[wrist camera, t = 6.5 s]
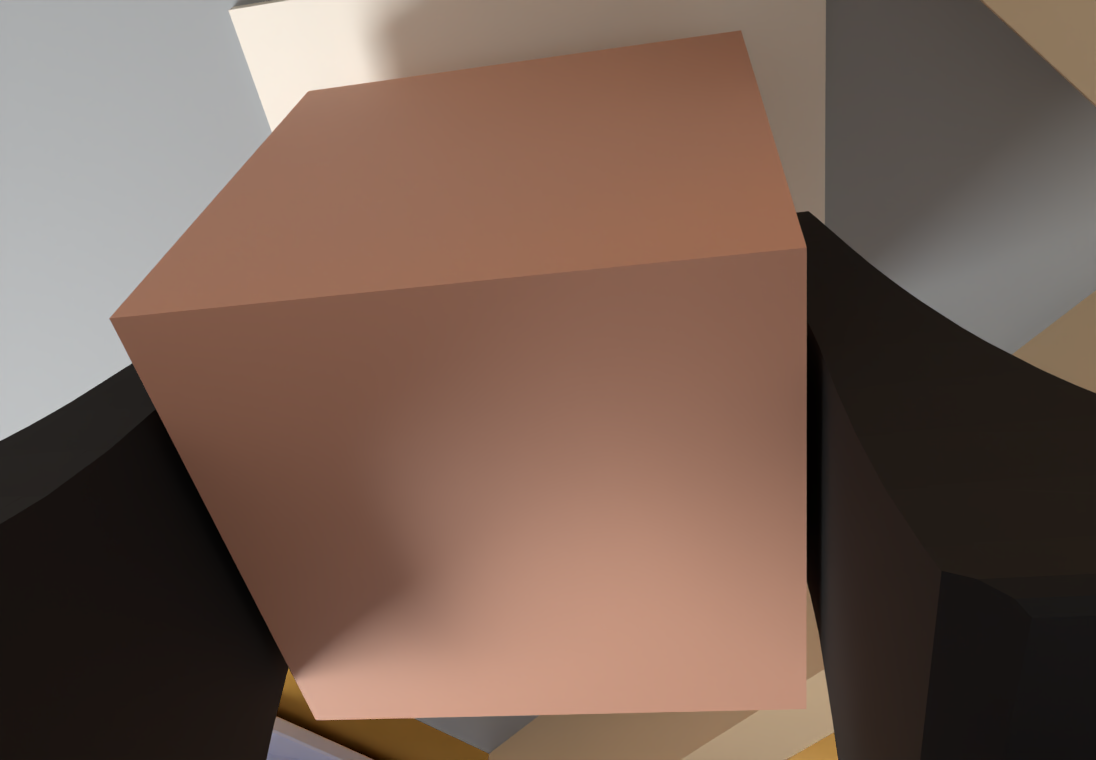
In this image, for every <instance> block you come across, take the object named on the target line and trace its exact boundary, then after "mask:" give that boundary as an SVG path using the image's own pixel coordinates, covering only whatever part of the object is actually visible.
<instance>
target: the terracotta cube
mask: <svg viewBox="0 0 1096 760" xmlns="http://www.w3.org/2000/svg"><path fill="white" fill-rule="evenodd" d="M109 319H110V321H111V323H112V325H113V327H114V329H115V331H116V332H117V334H118V336H119V338H120V340H121V342H122V344H123V346H124V348H125V350H126V352H127V354H128V356H129V358H130V360H131V362H132V364H133V366H134V367H135V369H136V371H137V373H138V375H139V377H140V379H141V381H142V383H143V385H144V387H145V389H146V391H147V393H148V395H149V397H150V399H151V401H152V402H153V404H154V406H155V408H156V410H157V412H158V414H159V416H160V418H161V420H162V422H163V424H164V426H165V428H166V430H167V432H168V434H169V436H170V437H171V439H172V441H173V443H174V445H175V447H176V449H177V451H178V453H179V455H180V457H181V459H182V461H183V463H184V465H185V467H186V469H187V471H188V472H189V474H190V476H191V478H192V480H193V482H194V484H195V486H196V488H197V490H198V492H199V494H200V496H201V498H202V500H203V502H204V504H205V506H206V507H207V509H208V511H209V513H210V515H211V517H212V519H213V521H214V523H215V525H216V527H217V529H218V531H219V533H220V535H221V537H222V539H223V541H224V542H225V544H226V546H227V548H228V550H229V552H230V554H231V556H232V558H233V560H234V562H235V564H236V566H237V568H238V570H239V572H240V574H241V576H242V577H243V579H244V581H245V583H246V585H247V587H248V589H249V591H250V593H251V595H252V597H253V599H254V601H255V603H256V605H257V607H258V609H259V611H260V613H261V614H262V616H263V618H264V620H265V622H266V624H267V626H268V628H269V630H270V632H271V634H272V636H273V638H274V640H275V642H276V644H277V646H278V648H279V649H280V651H281V653H282V655H283V657H284V659H285V661H286V663H287V665H288V667H289V669H290V671H291V673H292V675H293V677H294V679H295V681H296V683H297V684H298V686H299V688H300V690H301V692H302V694H303V696H304V698H305V700H306V702H307V704H308V706H309V708H310V710H311V712H312V714H313V716H314V718H315V719H316V720H349V719H393V718H437V717H481V716H525V715H569V714H613V713H656V712H700V711H744V710H788V709H806V638H807V247H806V243H805V240H804V237H803V233H802V230H801V227H800V224H799V220H798V217H797V214H796V210H795V207H794V204H793V200H792V197H791V194H790V190H789V187H788V184H787V181H786V177H785V174H784V171H783V167H782V164H781V161H780V157H779V154H778V151H777V148H776V144H775V141H774V138H773V134H772V131H771V128H770V124H769V121H768V118H767V115H766V111H765V108H764V105H763V101H762V98H761V95H760V91H759V88H758V85H757V81H756V78H755V75H754V72H753V68H752V65H751V62H750V58H749V55H748V52H747V48H746V45H745V42H744V39H743V35H742V32H741V30H740V31H733V32H726V33H719V34H711V35H704V36H697V37H690V38H683V39H676V40H669V41H662V42H654V43H647V44H640V45H633V46H626V47H619V48H612V49H605V50H597V51H590V52H583V53H576V54H569V55H562V56H555V57H547V58H540V59H533V60H526V61H519V62H512V63H505V64H498V65H490V66H483V67H476V68H469V69H462V70H455V71H448V72H441V73H433V74H426V75H419V76H412V77H405V78H398V79H391V80H384V81H376V82H369V83H362V84H355V85H348V86H341V87H334V88H327V89H319V90H312V91H308V92H307V93H306V94H305V95H304V96H303V98H302V99H301V100H300V101H299V102H298V103H297V104H296V106H295V107H294V108H293V109H292V110H291V111H290V112H289V114H288V115H287V116H286V117H285V118H284V119H283V120H282V122H281V123H280V124H279V125H278V126H277V127H276V128H275V130H274V131H273V132H272V133H271V134H270V135H269V136H268V138H267V139H266V140H265V141H264V142H263V143H262V144H261V146H260V147H259V148H258V149H257V150H256V151H255V152H254V154H253V155H252V156H251V157H250V158H249V159H248V160H247V162H246V163H245V164H244V165H243V166H242V167H241V168H240V170H239V171H238V172H237V173H236V174H235V175H234V176H233V178H232V179H231V180H230V181H229V182H228V183H227V184H226V186H225V187H224V188H223V189H222V190H221V191H220V192H219V194H218V195H217V196H216V197H215V198H214V199H213V200H212V202H211V203H210V204H209V205H208V206H207V207H206V208H205V210H204V211H203V212H202V213H201V214H200V215H199V216H198V218H197V219H196V220H195V221H194V222H193V223H192V224H191V226H190V227H189V228H188V229H187V230H186V231H185V232H184V234H183V235H182V236H181V237H180V238H179V239H178V240H177V242H176V243H175V244H174V245H173V246H172V247H171V248H170V250H169V251H168V252H167V253H166V254H165V255H164V256H163V258H162V259H161V260H160V261H159V262H158V263H157V264H156V266H155V267H154V268H153V269H152V270H151V271H150V272H149V274H148V275H147V276H146V277H145V278H144V279H143V280H142V282H141V283H140V284H139V285H138V286H137V287H136V288H135V290H134V291H133V292H132V293H131V294H130V295H129V296H128V298H127V299H126V300H125V301H124V302H123V303H122V304H121V306H120V307H119V308H118V309H117V310H116V311H115V312H114V314H113V315H112V316H111V317H110V318H109Z"/></svg>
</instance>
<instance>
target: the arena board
mask: <svg viewBox="0 0 1096 760" xmlns="http://www.w3.org/2000/svg"><path fill="white" fill-rule="evenodd" d="M265 1H271V0H0V441H1V440H3V439H5V438H7V437H9V436H11V435H13V434H14V433H16V432H18V431H20V430H22V429H24V428H26V427H28V426H30V425H31V424H33V423H35V422H37V421H39V420H40V419H42V418H44V417H46V416H47V415H49V414H51V413H53V412H55V411H56V410H58V409H60V408H61V407H63V406H65V405H66V404H68V403H70V402H72V401H73V400H75V399H76V398H78V397H80V396H81V395H83V394H84V393H86V392H87V391H89V390H91V389H92V388H94V387H95V386H97V385H99V384H100V383H102V382H103V381H105V380H106V379H108V378H110V377H111V376H113V375H114V374H116V373H118V372H119V371H121V370H122V369H124V368H125V367H127V366H129V365H130V364H132V362H131V360H130V358H129V356H128V354H127V352H126V350H125V348H124V346H123V344H122V342H121V340H120V338H119V336H118V334H117V332H116V331H115V329H114V327H113V325H112V323H111V321H110V319H109V318H110V317H111V316H112V315H113V314H114V312H115V311H116V310H117V309H118V308H119V307H120V306H121V304H122V303H123V302H124V301H125V300H126V299H127V298H128V296H129V295H130V294H131V293H132V292H133V291H134V290H135V288H136V287H137V286H138V285H139V284H140V283H141V282H142V280H143V279H144V278H145V277H146V276H147V275H148V274H149V272H150V271H151V270H152V269H153V268H154V267H155V266H156V264H157V263H158V262H159V261H160V260H161V259H162V258H163V256H164V255H165V254H166V253H167V252H168V251H169V250H170V248H171V247H172V246H173V245H174V244H175V243H176V242H177V240H178V239H179V238H180V237H181V236H182V235H183V234H184V232H185V231H186V230H187V229H188V228H189V227H190V226H191V224H192V223H193V222H194V221H195V220H196V219H197V218H198V216H199V215H200V214H201V213H202V212H203V211H204V210H205V208H206V207H207V206H208V205H209V204H210V203H211V202H212V200H213V199H214V198H215V197H216V196H217V195H218V194H219V192H220V191H221V190H222V189H223V188H224V187H225V186H226V184H227V183H228V182H229V181H230V180H231V179H232V178H233V176H234V175H235V174H236V173H237V172H238V171H239V170H240V168H241V167H242V166H243V165H244V164H245V163H246V162H247V160H248V159H249V158H250V157H251V156H252V155H253V154H254V152H255V151H256V150H257V149H258V148H259V147H260V146H261V144H262V143H263V142H264V141H265V140H266V139H267V138H268V136H269V135H270V134H271V133H272V131H271V128H270V126H269V123H268V120H267V117H266V114H265V112H264V109H263V106H262V103H261V100H260V98H259V95H258V92H257V89H256V86H255V84H254V81H253V78H252V75H251V72H250V70H249V67H248V64H247V61H246V58H245V56H244V53H243V50H242V47H241V44H240V42H239V39H238V36H237V33H236V30H235V28H234V25H233V22H232V19H231V16H230V14H229V11H228V10H229V9H231V8H232V7H235V6H241V5H247V4H253V3H259V2H265ZM825 225H826V226H827V227H828V228H829V229H830V230H831V231H833V232H834V233H835V234H836V235H837V236H838V237H839V238H841V239H842V240H843V241H844V242H845V243H846V244H848V245H849V246H850V247H851V248H852V249H853V250H855V251H856V252H857V253H858V254H859V255H861V256H862V257H863V258H864V259H865V260H867V261H868V262H869V263H870V264H871V265H873V266H874V267H875V268H877V269H878V270H879V271H880V272H882V273H883V274H884V275H886V276H887V277H888V278H890V279H891V280H892V281H894V282H895V283H896V284H898V285H899V286H900V287H902V288H903V289H905V290H906V291H907V292H909V293H910V294H912V295H913V296H914V297H916V298H917V299H919V300H920V301H922V302H923V303H925V304H926V305H928V306H929V307H931V308H932V309H934V310H936V311H937V312H939V313H940V314H942V315H943V316H945V317H946V318H948V319H950V320H951V321H953V322H954V323H956V324H957V325H959V326H961V327H962V328H964V329H966V330H967V331H969V332H971V333H973V334H974V335H976V336H978V337H980V338H981V339H983V340H985V341H987V342H988V343H990V344H992V345H994V346H996V347H998V348H1000V349H1002V350H1004V351H1006V352H1008V353H1010V354H1012V355H1014V356H1016V357H1018V358H1020V359H1022V360H1024V361H1025V362H1027V363H1029V364H1031V365H1033V366H1035V367H1037V368H1039V369H1041V370H1043V371H1046V372H1048V373H1050V374H1052V375H1054V376H1057V377H1059V378H1061V379H1063V380H1066V381H1068V382H1070V383H1072V384H1074V385H1077V386H1079V387H1082V388H1084V389H1087V390H1089V391H1092V392H1094V393H1096V0H826V82H825ZM414 719H416V720H418V721H420V722H423V723H425V724H427V725H429V726H431V727H433V728H435V729H437V730H440V731H442V732H444V733H446V734H448V735H450V736H452V737H455V738H457V739H459V740H461V741H463V742H465V743H467V744H470V745H472V746H474V747H476V748H478V749H480V750H482V751H484V752H487V753H489V758H488V760H787V759H788V758H790V757H792V756H794V755H795V754H797V753H799V752H800V751H802V750H804V749H806V748H807V747H809V746H811V745H813V744H814V743H816V742H818V741H820V740H821V739H823V738H825V737H826V736H828V735H830V734H832V733H833V732H834V728H833V721H832V714H831V708H830V702H829V695H828V689H827V683H826V676H825V670H824V664H823V657H822V651H821V645H820V638H819V633H818V628H817V623H816V619H815V614H814V610H813V605H812V601H811V596H810V592H809V589H808V585H807V638H806V709H788V710H744V711H700V712H656V713H613V714H569V715H525V716H481V717H437V718H414Z"/></svg>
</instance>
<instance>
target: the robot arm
mask: <svg viewBox="0 0 1096 760" xmlns="http://www.w3.org/2000/svg"><path fill="white" fill-rule="evenodd" d="M796 214H797V217H798V220H799V224H800V227H801V230H802V233H803V237H804V240H805V243H806V247H807V585H808V589H809V592H810V596H811V601H812V605H813V610H814V614H815V619H816V623H817V628H818V633H819V638H820V645H821V651H822V657H823V664H824V670H825V676H826V683H827V689H828V695H829V702H830V708H831V714H832V721H833V728H834V734H835V741H836V747H837V754H838V760H1096V393H1094V392H1092V391H1089V390H1087V389H1084V388H1082V387H1079V386H1077V385H1074V384H1072V383H1070V382H1068V381H1066V380H1063V379H1061V378H1059V377H1057V376H1054V375H1052V374H1050V373H1048V372H1046V371H1043V370H1041V369H1039V368H1037V367H1035V366H1033V365H1031V364H1029V363H1027V362H1025V361H1024V360H1022V359H1020V358H1018V357H1016V356H1014V355H1012V354H1010V353H1008V352H1006V351H1004V350H1002V349H1000V348H998V347H996V346H994V345H992V344H990V343H988V342H987V341H985V340H983V339H981V338H980V337H978V336H976V335H974V334H973V333H971V332H969V331H967V330H966V329H964V328H962V327H961V326H959V325H957V324H956V323H954V322H953V321H951V320H950V319H948V318H946V317H945V316H943V315H942V314H940V313H939V312H937V311H936V310H934V309H932V308H931V307H929V306H928V305H926V304H925V303H923V302H922V301H920V300H919V299H917V298H916V297H914V296H913V295H912V294H910V293H909V292H907V291H906V290H905V289H903V288H902V287H900V286H899V285H898V284H896V283H895V282H894V281H892V280H891V279H890V278H888V277H887V276H886V275H884V274H883V273H882V272H880V271H879V270H878V269H877V268H875V267H874V266H873V265H871V264H870V263H869V262H868V261H867V260H865V259H864V258H863V257H862V256H861V255H859V254H858V253H857V252H856V251H855V250H853V249H852V248H851V247H850V246H849V245H848V244H846V243H845V242H844V241H843V240H842V239H841V238H839V237H838V236H837V235H836V234H835V233H834V232H833V231H831V230H830V229H829V228H828V227H827V226H826V225H824V224H823V223H822V222H821V221H820V220H819V219H817V218H816V217H815V216H814V215H813V214H812V213H810V212H809V211H805V212H796ZM287 671H288V665H287V663H286V661H285V659H284V657H283V655H282V653H281V651H280V649H279V648H278V646H277V644H276V642H275V640H274V638H273V636H272V634H271V632H270V630H269V628H268V626H267V624H266V622H265V620H264V618H263V616H262V614H261V613H260V611H259V609H258V607H257V605H256V603H255V601H254V599H253V597H252V595H251V593H250V591H249V589H248V587H247V585H246V583H245V581H244V579H243V577H242V576H241V574H240V572H239V570H238V568H237V566H236V564H235V562H234V560H233V558H232V556H231V554H230V552H229V550H228V548H227V546H226V544H225V542H224V541H223V539H222V537H221V535H220V533H219V531H218V529H217V527H216V525H215V523H214V521H213V519H212V517H211V515H210V513H209V511H208V509H207V507H206V506H205V504H204V502H203V500H202V498H201V496H200V494H199V492H198V490H197V488H196V486H195V484H194V482H193V480H192V478H191V476H190V474H189V472H188V471H187V469H186V467H185V465H184V463H183V461H182V459H181V457H180V455H179V453H178V451H177V449H176V447H175V445H174V443H173V441H172V439H171V437H170V436H169V434H168V432H167V430H166V428H165V426H164V424H163V422H162V420H161V418H160V416H159V414H158V412H157V410H156V408H155V406H154V404H153V402H152V401H151V399H150V397H149V395H148V393H147V391H146V389H145V387H144V385H143V383H142V381H141V379H140V377H139V375H138V373H137V371H136V369H135V367H134V366H133V364H130V365H129V366H127V367H125V368H124V369H122V370H121V371H119V372H118V373H116V374H114V375H113V376H111V377H110V378H108V379H106V380H105V381H103V382H102V383H100V384H99V385H97V386H95V387H94V388H92V389H91V390H89V391H87V392H86V393H84V394H83V395H81V396H80V397H78V398H76V399H75V400H73V401H72V402H70V403H68V404H66V405H65V406H63V407H61V408H60V409H58V410H56V411H55V412H53V413H51V414H49V415H47V416H46V417H44V418H42V419H40V420H39V421H37V422H35V423H33V424H31V425H30V426H28V427H26V428H24V429H22V430H20V431H18V432H16V433H14V434H13V435H11V436H9V437H7V438H5V439H3V440H1V441H0V760H374V759H371V758H369V757H367V756H365V755H362V754H360V753H358V752H356V751H353V750H351V749H349V748H347V747H345V746H342V745H340V744H338V743H336V742H333V741H331V740H329V739H327V738H324V737H322V736H320V735H318V734H315V733H313V732H311V731H309V730H306V729H304V728H302V727H300V726H297V725H295V724H293V723H291V722H289V721H286V720H284V719H282V718H280V717H277V716H276V715H277V711H278V707H279V703H280V699H281V695H282V691H283V687H284V683H285V679H286V675H287Z"/></svg>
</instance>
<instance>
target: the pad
mask: <svg viewBox="0 0 1096 760" xmlns="http://www.w3.org/2000/svg"><path fill="white" fill-rule="evenodd" d="M228 11H229V14H230V16H231V19H232V22H233V25H234V28H235V30H236V33H237V36H238V39H239V42H240V44H241V47H242V50H243V53H244V56H245V58H246V61H247V64H248V67H249V70H250V72H251V75H252V78H253V81H254V84H255V86H256V89H257V92H258V95H259V98H260V100H261V103H262V106H263V109H264V112H265V114H266V117H267V120H268V123H269V126H270V128H271V131H272V132H273V131H274V130H275V128H276V127H277V126H278V125H279V124H280V123H281V122H282V120H283V119H284V118H285V117H286V116H287V115H288V114H289V112H290V111H291V110H292V109H293V108H294V107H295V106H296V104H297V103H298V102H299V101H300V100H301V99H302V98H303V96H304V95H305V94H306V93H307V92H308V91H312V90H319V89H327V88H334V87H341V86H348V85H355V84H362V83H369V82H376V81H384V80H391V79H398V78H405V77H412V76H419V75H426V74H433V73H441V72H448V71H455V70H462V69H469V68H476V67H483V66H490V65H498V64H505V63H512V62H519V61H526V60H533V59H540V58H547V57H555V56H562V55H569V54H576V53H583V52H590V51H597V50H605V49H612V48H619V47H626V46H633V45H640V44H647V43H654V42H662V41H669V40H676V39H683V38H690V37H697V36H704V35H711V34H719V33H726V32H733V31H740V30H741V32H742V35H743V39H744V42H745V45H746V48H747V52H748V55H749V58H750V62H751V65H752V68H753V72H754V75H755V78H756V81H757V85H758V88H759V91H760V95H761V98H762V101H763V105H764V108H765V111H766V115H767V118H768V121H769V124H770V128H771V131H772V134H773V138H774V141H775V144H776V148H777V151H778V154H779V157H780V161H781V164H782V167H783V171H784V174H785V177H786V181H787V184H788V187H789V190H790V194H791V197H792V200H793V204H794V207H795V210H796V212H805V211H809V212H810V213H812V214H813V215H814V216H815V217H816V218H817V219H819V220H820V221H821V222H822V223H823V224H824V225H825V82H826V0H271V1H265V2H259V3H253V4H247V5H241V6H235V7H232V8H231V9H229V10H228Z"/></svg>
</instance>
